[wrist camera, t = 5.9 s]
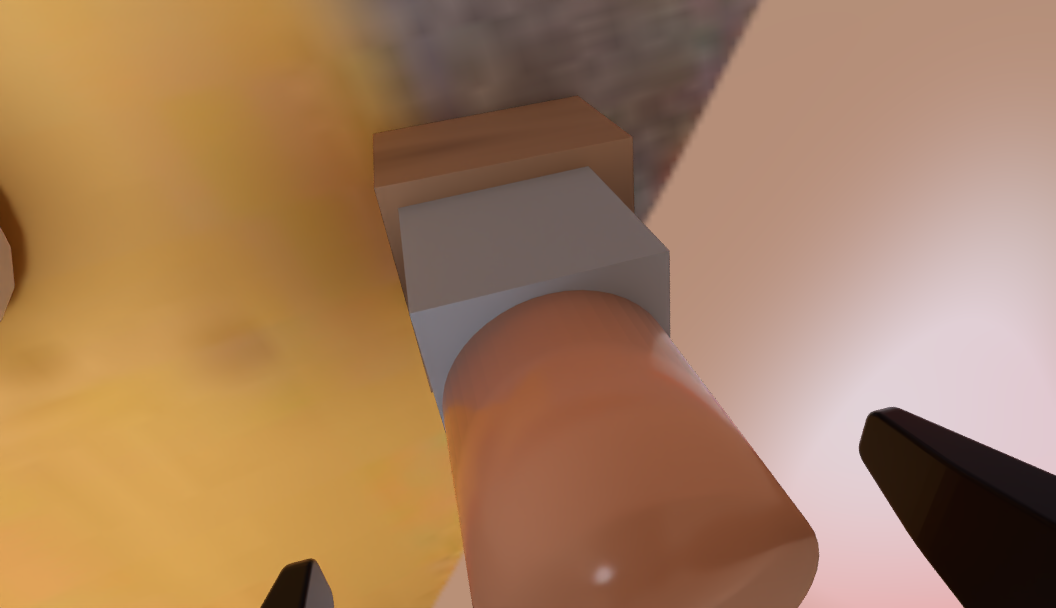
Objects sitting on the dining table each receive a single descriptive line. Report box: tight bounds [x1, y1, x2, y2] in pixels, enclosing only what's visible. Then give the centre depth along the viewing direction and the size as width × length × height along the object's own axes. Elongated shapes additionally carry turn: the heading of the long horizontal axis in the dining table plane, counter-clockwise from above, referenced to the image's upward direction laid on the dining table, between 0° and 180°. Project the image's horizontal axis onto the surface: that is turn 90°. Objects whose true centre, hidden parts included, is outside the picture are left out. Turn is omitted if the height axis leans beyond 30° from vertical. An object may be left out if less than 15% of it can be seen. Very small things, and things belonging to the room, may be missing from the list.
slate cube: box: [398, 166, 670, 432], centre depth 13 cm, size 4×4×4 cm
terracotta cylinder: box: [442, 290, 819, 608], centre depth 9 cm, size 4×4×4 cm
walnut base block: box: [373, 96, 634, 392], centre depth 17 cm, size 6×6×4 cm
